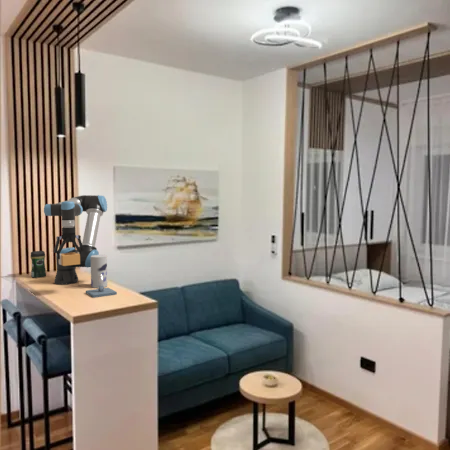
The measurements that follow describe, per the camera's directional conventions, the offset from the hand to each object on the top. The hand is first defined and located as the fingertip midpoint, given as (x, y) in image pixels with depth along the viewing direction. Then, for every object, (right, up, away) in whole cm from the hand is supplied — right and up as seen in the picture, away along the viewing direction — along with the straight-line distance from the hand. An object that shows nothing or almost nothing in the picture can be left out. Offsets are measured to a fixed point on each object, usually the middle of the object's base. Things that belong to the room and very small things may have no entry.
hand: (69, 263), depth 259 cm
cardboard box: (0, 0, 0) cm, 0 cm away
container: (+13, -17, +17) cm, 27 cm away
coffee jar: (-39, -14, +46) cm, 62 cm away
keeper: (+20, -18, -2) cm, 27 cm away
